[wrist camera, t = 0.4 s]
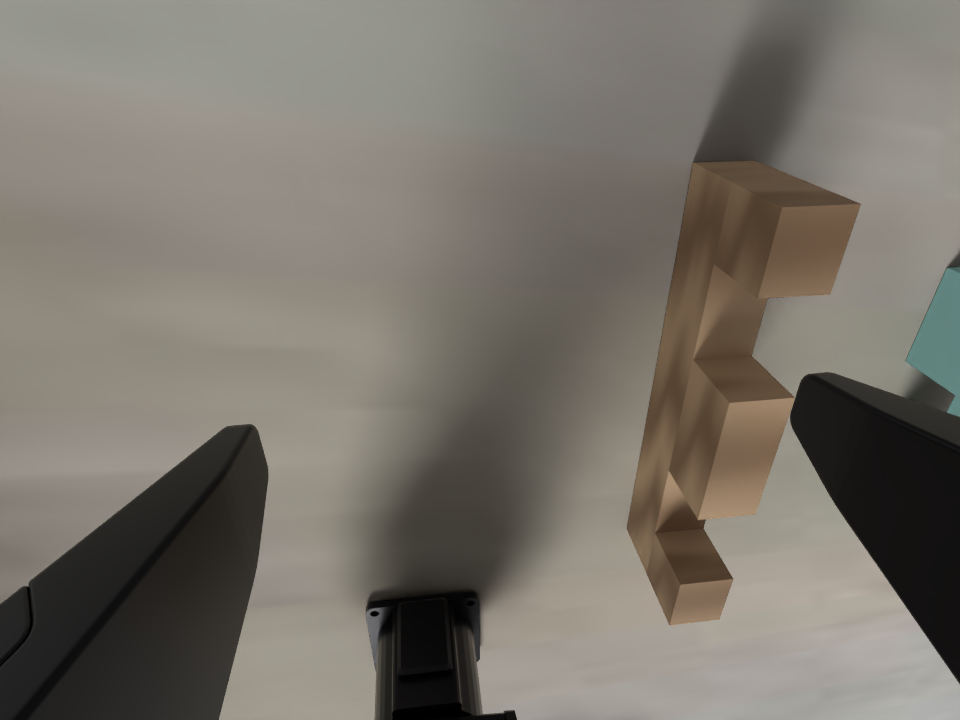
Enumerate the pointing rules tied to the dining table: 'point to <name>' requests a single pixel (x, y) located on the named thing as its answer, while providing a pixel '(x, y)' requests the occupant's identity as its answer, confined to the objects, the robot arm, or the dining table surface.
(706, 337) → the walnut slotted board
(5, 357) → the dining table surface
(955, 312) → the teal notched plate
